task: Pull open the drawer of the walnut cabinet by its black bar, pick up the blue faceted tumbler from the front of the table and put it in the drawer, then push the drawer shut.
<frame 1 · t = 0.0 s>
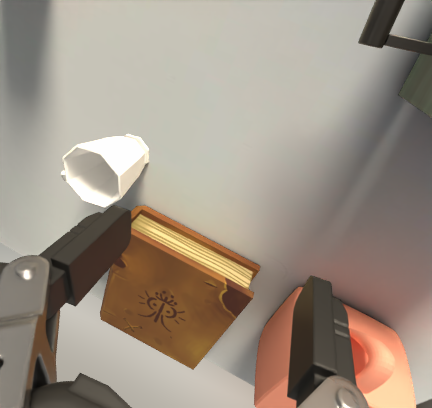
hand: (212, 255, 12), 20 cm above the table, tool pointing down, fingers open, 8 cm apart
pink lidded sugar bowl: (339, 333, 40), on the table
diary: (177, 279, 45), on the table
cup: (125, 152, 35), on the table
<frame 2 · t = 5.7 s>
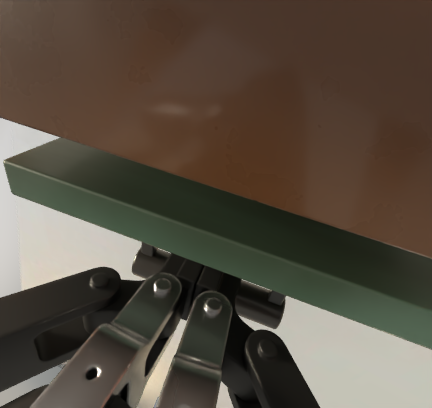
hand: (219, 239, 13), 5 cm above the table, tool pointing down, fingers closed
drawer: (268, 68, 8), point 5 cm above the table, slide at 1.9 cm, touching gripper
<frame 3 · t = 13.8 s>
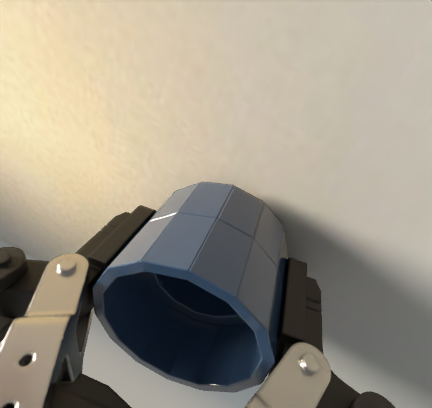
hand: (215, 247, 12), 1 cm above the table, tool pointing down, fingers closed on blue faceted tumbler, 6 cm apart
blue faceted tumbler: (223, 233, 13), on the table, touching gripper
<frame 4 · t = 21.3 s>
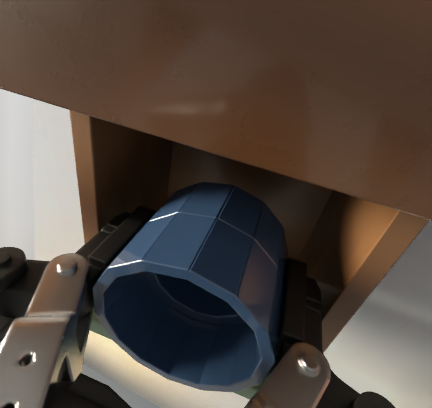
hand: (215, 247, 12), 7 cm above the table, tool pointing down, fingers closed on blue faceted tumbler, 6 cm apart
drawer: (218, 258, 16), point 5 cm above the table, slide at 11.9 cm, touching gripper
blue faceted tumbler: (223, 233, 13), point 6 cm above the table, touching gripper
when the fingers open (9 cm above the table, at t = 35.5 s): blue faceted tumbler drops 6 cm, resting on drawer.
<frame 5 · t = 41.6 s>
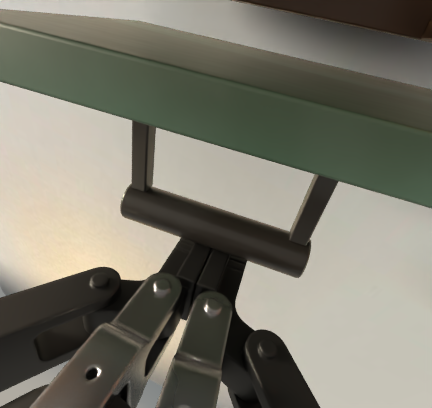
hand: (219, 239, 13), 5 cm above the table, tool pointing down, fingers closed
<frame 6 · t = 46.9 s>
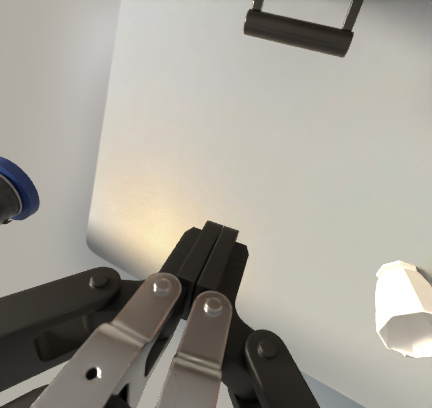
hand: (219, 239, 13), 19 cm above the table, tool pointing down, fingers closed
cup: (396, 283, 33), on the table
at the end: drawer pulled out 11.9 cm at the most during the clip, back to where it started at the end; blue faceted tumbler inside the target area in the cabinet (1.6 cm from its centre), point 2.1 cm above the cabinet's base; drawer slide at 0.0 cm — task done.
